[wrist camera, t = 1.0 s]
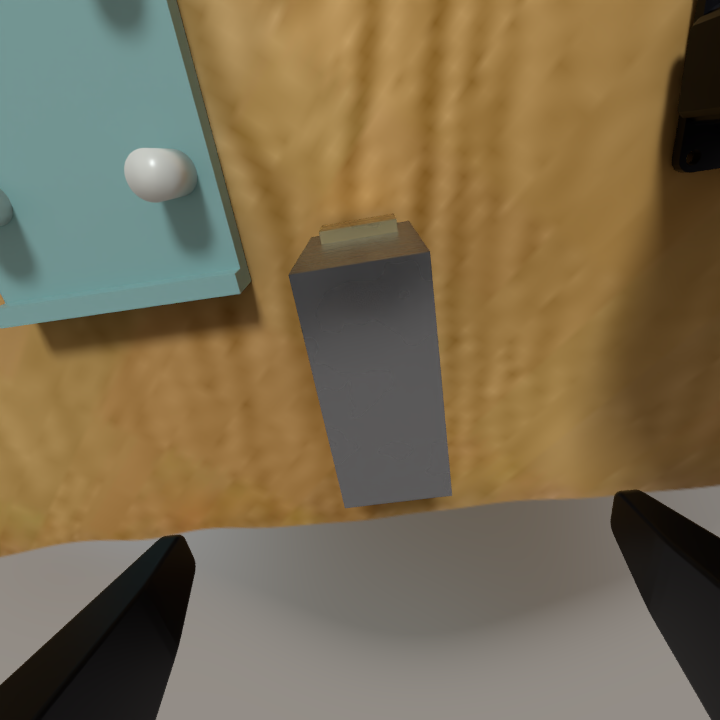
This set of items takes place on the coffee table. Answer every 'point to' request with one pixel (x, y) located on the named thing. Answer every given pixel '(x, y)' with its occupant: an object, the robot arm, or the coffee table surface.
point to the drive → (375, 358)
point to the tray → (107, 164)
